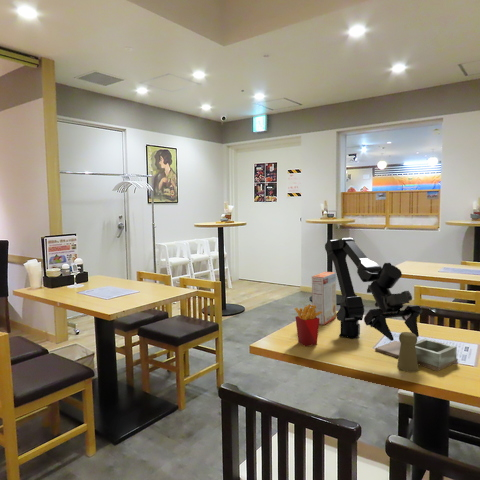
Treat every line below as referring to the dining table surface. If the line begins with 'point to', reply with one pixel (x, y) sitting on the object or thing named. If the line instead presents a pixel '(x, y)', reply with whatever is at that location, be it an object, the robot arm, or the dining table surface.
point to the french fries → (307, 325)
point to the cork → (407, 352)
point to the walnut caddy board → (425, 353)
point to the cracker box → (324, 296)
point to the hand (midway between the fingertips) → (405, 338)
